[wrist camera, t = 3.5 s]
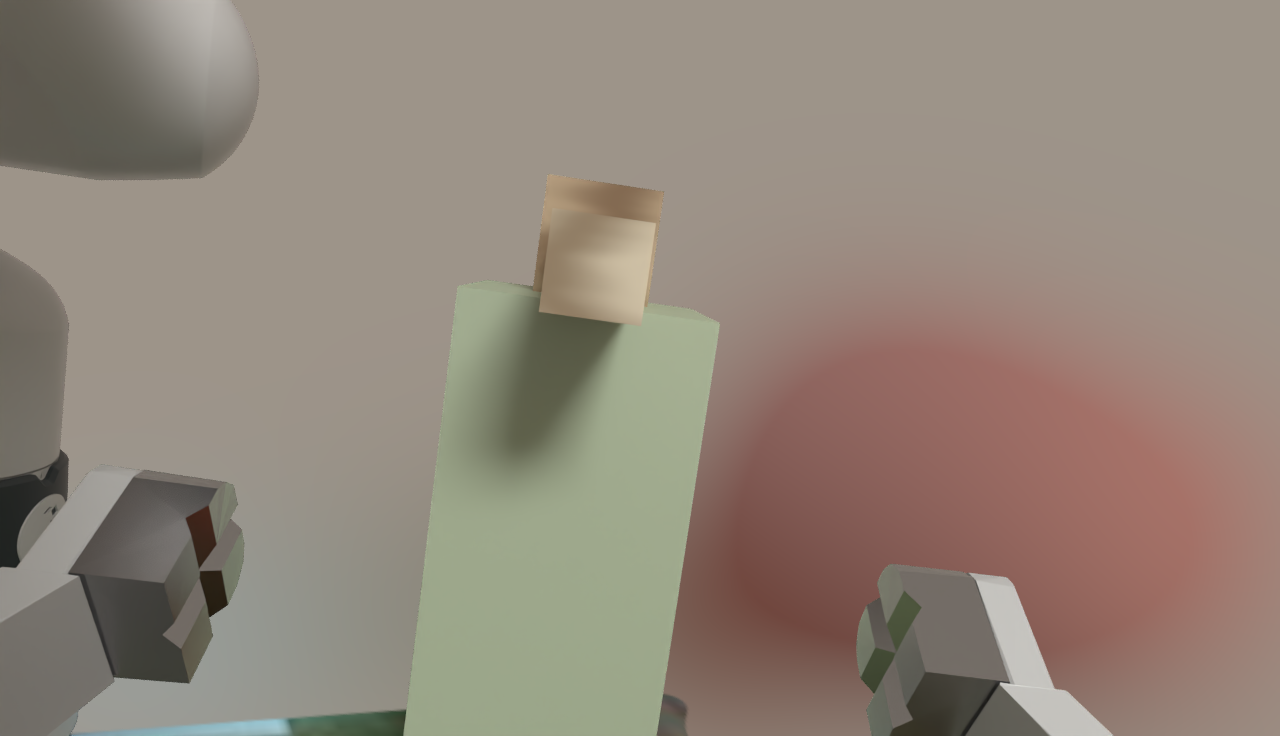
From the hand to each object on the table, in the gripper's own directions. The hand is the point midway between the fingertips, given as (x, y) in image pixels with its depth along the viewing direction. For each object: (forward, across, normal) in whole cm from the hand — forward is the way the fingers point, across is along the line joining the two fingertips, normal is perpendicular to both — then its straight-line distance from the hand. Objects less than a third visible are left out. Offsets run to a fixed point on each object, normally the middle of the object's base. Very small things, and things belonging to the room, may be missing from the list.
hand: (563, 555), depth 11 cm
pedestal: (+12, 0, +35) cm, 37 cm away
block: (+22, 0, +10) cm, 24 cm away
